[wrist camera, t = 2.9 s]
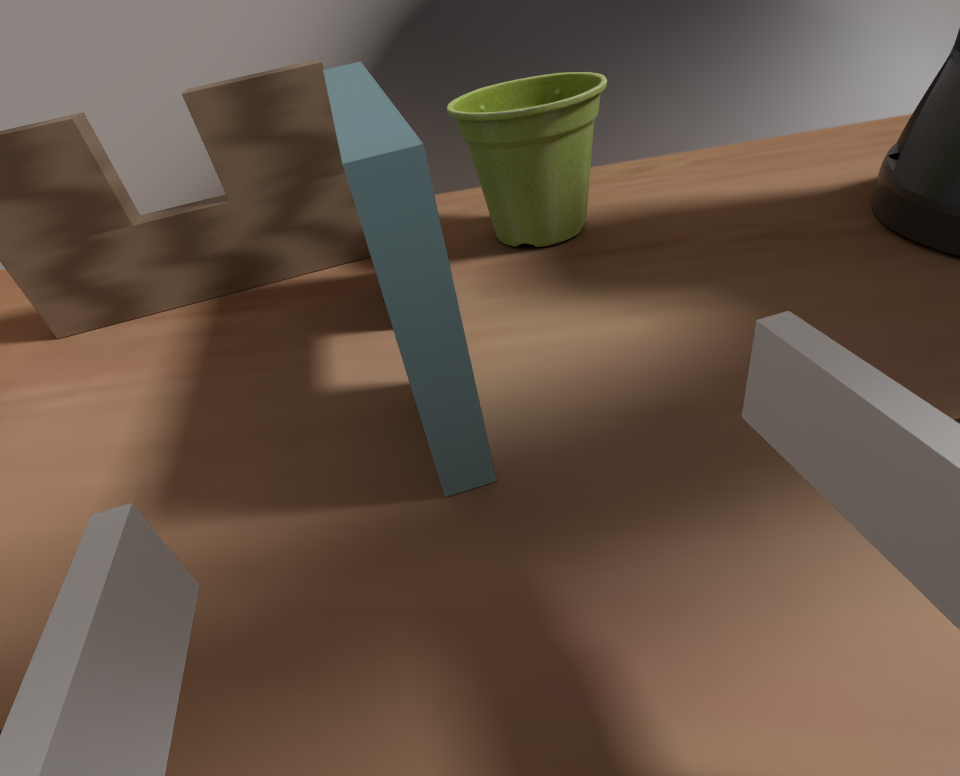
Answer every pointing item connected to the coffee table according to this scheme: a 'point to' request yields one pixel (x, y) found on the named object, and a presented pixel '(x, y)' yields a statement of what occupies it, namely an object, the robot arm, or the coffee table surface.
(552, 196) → the plant pot
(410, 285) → the slotted plate
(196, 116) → the walnut board
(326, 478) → the coffee table surface
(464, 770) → the coffee table surface
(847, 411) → the robot arm
